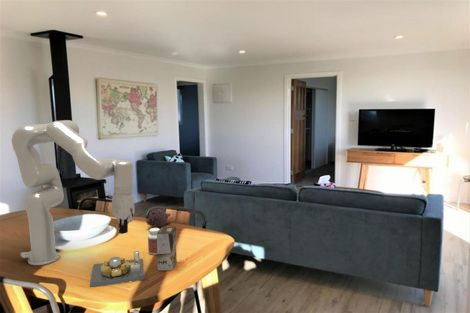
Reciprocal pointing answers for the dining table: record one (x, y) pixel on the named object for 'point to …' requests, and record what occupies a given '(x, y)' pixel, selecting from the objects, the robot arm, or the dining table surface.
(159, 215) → the pine cone
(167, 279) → the dining table surface
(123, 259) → the gold ring
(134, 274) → the plate
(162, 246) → the coffee box
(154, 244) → the pill bottle
